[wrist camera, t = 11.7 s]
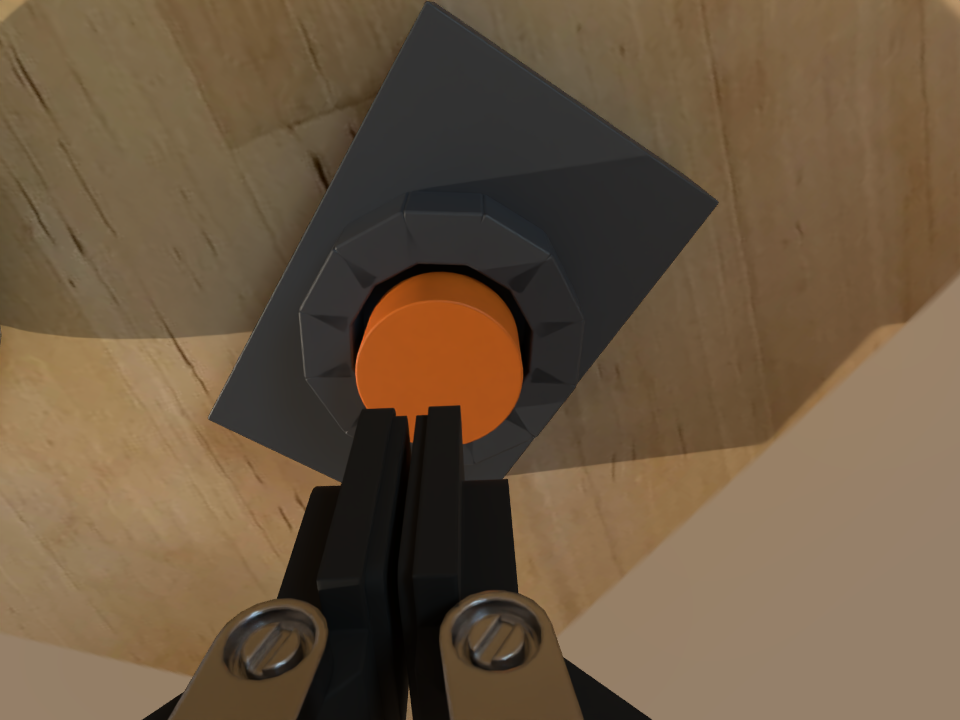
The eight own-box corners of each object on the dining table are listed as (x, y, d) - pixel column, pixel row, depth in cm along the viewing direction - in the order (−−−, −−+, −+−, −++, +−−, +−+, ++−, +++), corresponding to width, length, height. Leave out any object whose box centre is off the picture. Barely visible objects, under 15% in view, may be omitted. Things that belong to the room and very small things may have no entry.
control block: (433, 1, 17) (420, -1, 13) (688, 177, 19) (746, 223, 15) (236, 373, 21) (181, 457, 17) (458, 483, 23) (455, 582, 19)
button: (413, 241, 15) (407, 267, 14) (548, 320, 16) (556, 353, 15) (339, 365, 17) (326, 401, 15) (467, 431, 18) (466, 472, 16)
